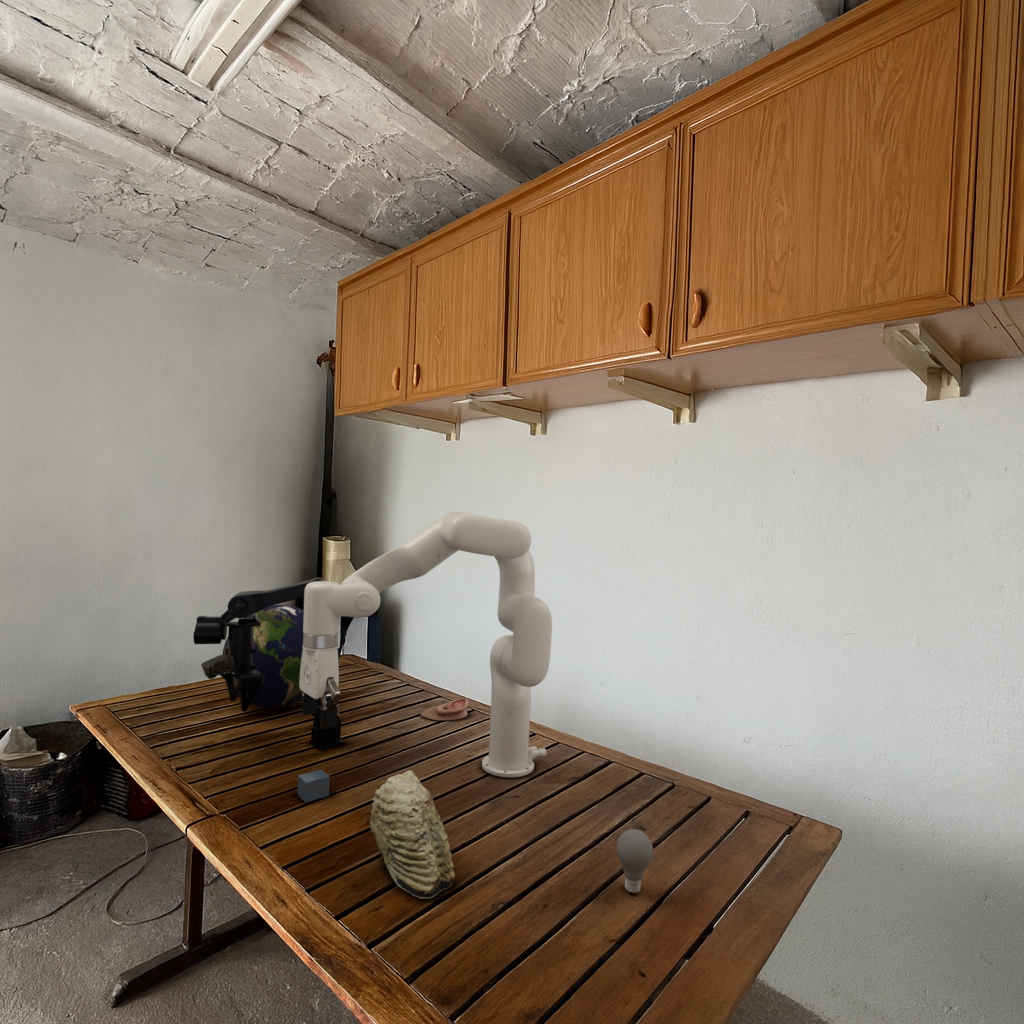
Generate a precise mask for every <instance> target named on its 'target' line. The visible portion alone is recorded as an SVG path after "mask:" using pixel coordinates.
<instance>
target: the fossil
mask: <svg viewBox="0 0 1024 1024" xmlns="http://www.w3.org/2000/svg"><path fill="white" fill-rule="evenodd" d="M374 794H375V796H373V797H372V804H371V806H372V809H371V812H370V821H369V827H370V832H371V833H372V834H373V836H374V837H375V842H376V845H377V848H378V851H379V853H380V854H381V856H382V857H383V860H384V864H385V866H386V868H387V869H388V872H389V874H390V876H391V878H392V880H393V881H394V882H395V884H396V885H397V886H398V887H399V888H400V889H401V890H403V891H404V892H407V893H408V894H411V896H413V897H415V898H418V899H420V900H428V899H429V900H430V899H432V898H435V896H437V895H438V894H440V893H441V892H442V891H444V890H447V889H449V888H451V887H452V885H453V883H454V882H455V881H456V874H455V871H454V866H455V864H454V861H453V860H452V858H453V857H452V852H451V845H450V843H449V842H450V841H449V836H448V834H447V832H446V829H445V827H444V823H443V821H442V818H441V816H440V815H439V812H438V810H437V807H436V804H435V801H434V799H433V796H432V795H431V791H430V790H428V789H426V787H425V786H424V785H423V784H422V782H421V780H420V779H419V777H417V776H416V774H415V772H414V771H413V770H411V769H410V770H407V771H405V772H403V773H402V774H401V773H397V774H395V775H394V776H390V777H388V778H387V779H386V781H385V783H383V784H382V785H381V786H380V788H378V789H376V790H375V792H374Z"/></svg>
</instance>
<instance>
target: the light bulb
mask: <svg viewBox="0 0 1024 1024" xmlns="http://www.w3.org/2000/svg"><path fill="white" fill-rule="evenodd" d="M615 849H616V854H617V857H618V859H619V861H620V863H621V865H622V867H623V873H624V874H623V875H624V876H625V878H624V888H625V890H627V891H628V892H630V893H634V894H635V893H639V892H640V891H641V889H642V887H641V886H642V879H643V877H644V875H645V871H646V868H647V867H648V866H649V864H650V863H651V861H652V859H653V855H654V847H653V843H652V841H651V838H649V836H648V835H647V834H646V833H645V832H643V831H642V830H641V829H636V828H629V829H627V830H625V831H623V832H622V833H621V834H620V835H619V837H618V839H617V841H616V847H615Z"/></svg>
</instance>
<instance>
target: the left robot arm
mask: <svg viewBox="0 0 1024 1024" xmlns="http://www.w3.org/2000/svg"><path fill="white" fill-rule="evenodd" d="M316 581H327V580H326V579H324V578H323V577H320V576H319V577H318V576H317V577H314V578H312V579H308V580H305V581H304V580H303V581H301V582H296V583H292V584H288V585H284V586H280V587H276V588H272V589H268V590H266V589H265V590H243V591H240V592H237V593H236V594H234V595H233V596H232V597H231V598H230V599H229V601H228V603H227V609H226V611H224V612H223V613H222V614H221V615H220V616H207V615H198V616H197V617H196V623H195V626H194V631H193V637H192V638H193V643H194V645H221V644H222V641H226V640H227V637H228V647H225V649H224V648H223V649H224V654H220V655H216V656H214V657H212V658H210V659H207V660H206V661H204V662H202V663H201V664H200V665H201V668H202V671H203V673H204V676H205V677H206V678H207V679H208V680H213V679H215V678H217V677H218V676H220V677H221V678H222V679H224V681H225V685H226V689H227V692H228V693H227V694H228V697H229V701H230V702H232V703H233V702H235V701H236V700H237V697H238V696H237V695H238V692H239V694H240V698H239V701H240V709H241V712H242V713H246V712H248V710H249V708H250V706H251V702H252V700H253V698H254V696H255V695H256V693H257V691H258V690H259V688H260V687H261V686H262V685H263V684H264V677H265V676H264V675H263V674H261V673H260V672H259V671H257V670H251V671H249V670H250V669H255V664H253V663H252V659H253V653H254V652H255V650H256V648H254V647H253V631H254V626H260V625H261V624H262V621H261V620H260V619H258V617H257V616H256V615H254V617H253V618H244V617H247V616H249V615H252V614H254V613H256V612H258V611H260V610H262V609H264V608H266V607H269V606H272V605H281V604H283V603H287V602H292V601H296V600H299V599H304V592H305V587H306V585H307V584H308V583H311V582H316ZM354 618H355V617H347V616H341V622H340V647H339V648H338V649H337V650H338V664H339V662H340V659H341V655H342V651H343V647H344V644H345V640H346V638H347V637H346V636H347V634H348V630H349V628H350V625H351V624H352V622H353V621H354ZM235 619H238V620H237V621H234V620H235ZM227 634H228V635H227ZM324 694H328V693H324ZM329 699H331V698H328V699H326V702H328V701H329ZM340 707H341V706H340V704H338V708H337V720H336V727H332V728H328V729H321V710H322V709H323V706H322V702H321V698H319V699H318V702H317V713H316V714H311V715H310V716H311V717H313V718H314V719H313V721H312V722H313V723H312V727H311V730H310V731H311V732H310V733H311V735H310V739H309V740H308V743H309V744H310V745H313V746H314V747H316V748H318V749H320V750H327V749H329V748H333V747H336V746H340V745H343V744H344V743H345V741H344V740H343V739H341V737H342V735H341V733H342V717H340V709H341V708H340Z"/></svg>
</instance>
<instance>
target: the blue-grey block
mask: <svg viewBox="0 0 1024 1024" xmlns="http://www.w3.org/2000/svg"><path fill="white" fill-rule="evenodd" d="M330 779H331V776H330V775H329V774H328V773H326V772H325V771H324V770H323V769H318V770H314V771H310V772H306V773H302V774H298V776H297V796H298V797H299V798H300V799H301V800H302V801H304V803H309V802H312V801H317V800H319V799H322V798H327V797H329V796H330V781H331V780H330Z"/></svg>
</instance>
